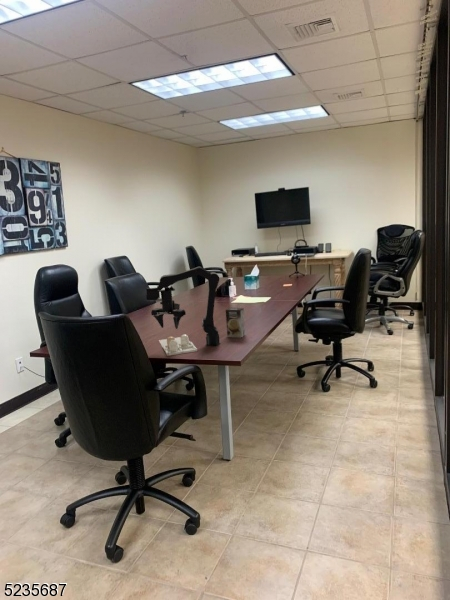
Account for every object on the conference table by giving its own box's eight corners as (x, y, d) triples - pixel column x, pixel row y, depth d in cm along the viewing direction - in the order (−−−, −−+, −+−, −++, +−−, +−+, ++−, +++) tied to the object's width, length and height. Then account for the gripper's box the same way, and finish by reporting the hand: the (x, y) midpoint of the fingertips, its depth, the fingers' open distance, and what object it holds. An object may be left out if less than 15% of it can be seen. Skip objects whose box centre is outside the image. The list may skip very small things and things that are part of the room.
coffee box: (226, 337, 256) (224, 309, 253) (230, 334, 262) (228, 307, 259) (242, 337, 253) (240, 309, 250) (245, 334, 259) (243, 307, 256)
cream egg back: (190, 345, 243) (189, 333, 242) (185, 347, 239) (184, 336, 238) (184, 344, 245) (183, 333, 244) (179, 347, 242) (178, 335, 240)
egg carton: (197, 352, 233) (197, 349, 232) (167, 356, 228) (167, 353, 228) (185, 337, 262) (185, 334, 262) (158, 341, 258) (158, 338, 258)
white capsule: (180, 351, 234) (178, 339, 233) (174, 353, 230) (173, 341, 229) (173, 350, 236) (172, 338, 235) (168, 352, 233) (166, 340, 232)
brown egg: (177, 347, 241) (176, 335, 239) (172, 350, 237) (170, 338, 236) (171, 346, 243) (170, 335, 242) (165, 349, 240) (164, 337, 238)
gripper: (190, 297, 238) (192, 325, 241) (161, 295, 247) (164, 323, 250) (178, 301, 228) (180, 330, 231) (149, 300, 237) (152, 328, 240)
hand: (169, 328), depth 238 cm, fingers open, 9 cm apart
